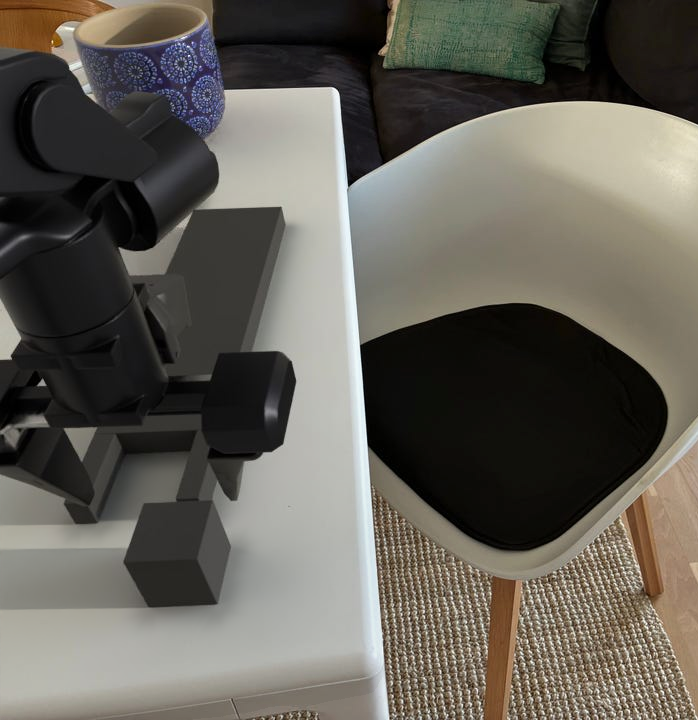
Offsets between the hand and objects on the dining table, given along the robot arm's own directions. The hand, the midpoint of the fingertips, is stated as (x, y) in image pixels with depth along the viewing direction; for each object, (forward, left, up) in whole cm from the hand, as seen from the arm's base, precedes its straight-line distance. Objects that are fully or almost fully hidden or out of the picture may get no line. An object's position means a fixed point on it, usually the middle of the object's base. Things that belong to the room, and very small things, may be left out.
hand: (163, 497), depth 49 cm
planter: (+37, +65, -9) cm, 75 cm away
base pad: (+14, +22, -9) cm, 28 cm away
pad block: (0, +1, -9) cm, 9 cm away
